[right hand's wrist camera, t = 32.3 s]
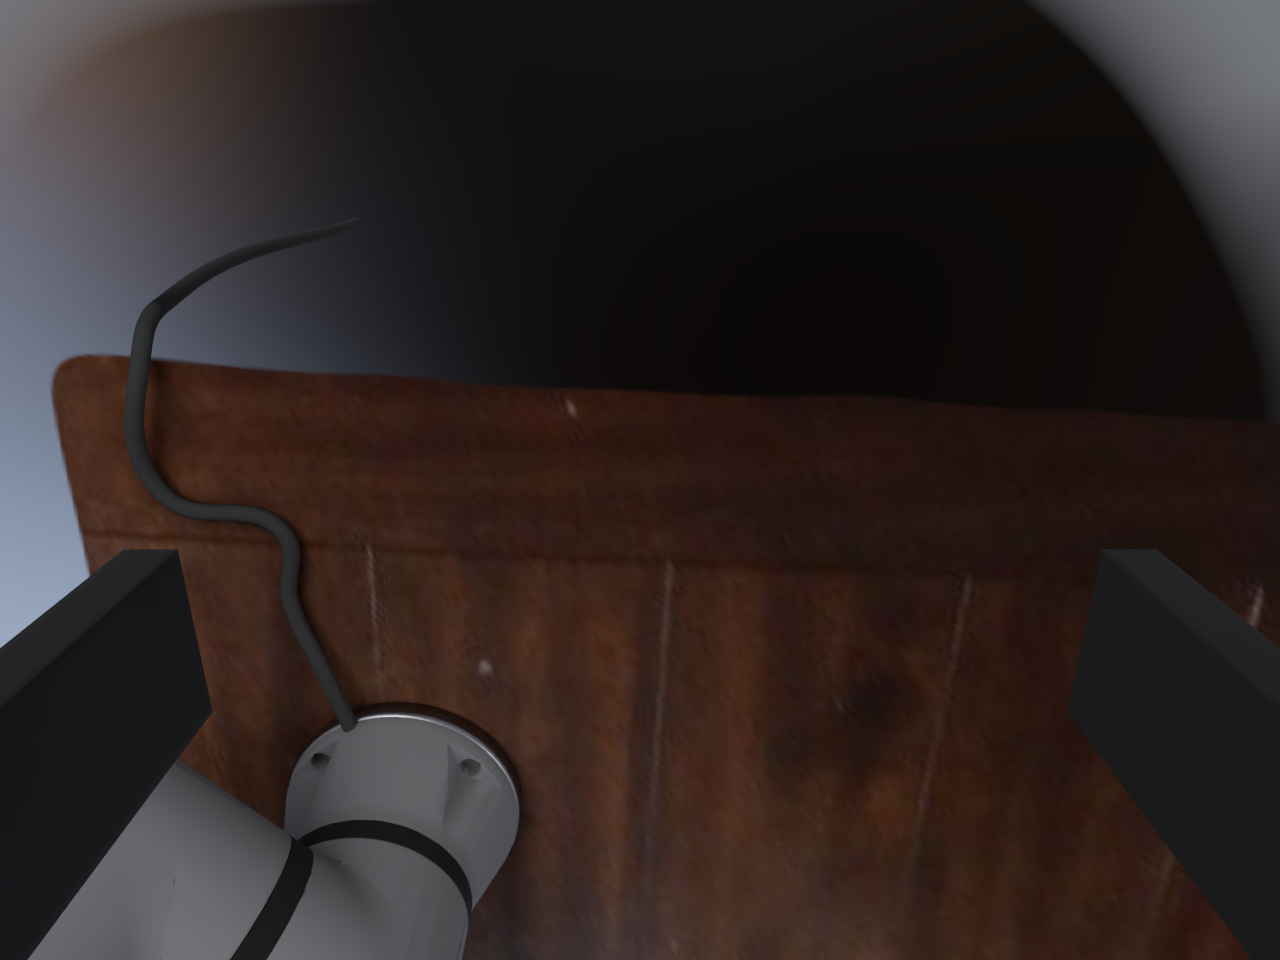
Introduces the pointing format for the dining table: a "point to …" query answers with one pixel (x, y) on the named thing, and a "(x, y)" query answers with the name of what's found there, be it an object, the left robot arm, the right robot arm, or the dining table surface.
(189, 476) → the dining table surface
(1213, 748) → the right robot arm
